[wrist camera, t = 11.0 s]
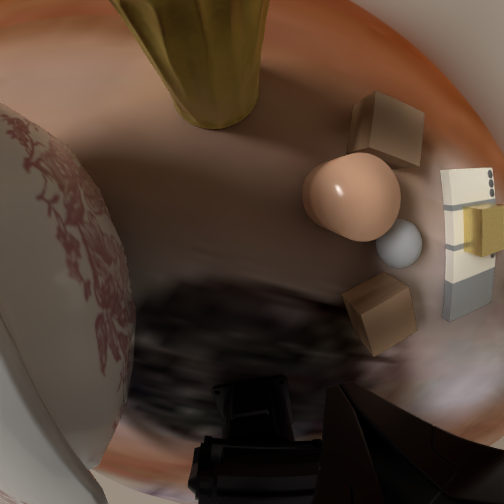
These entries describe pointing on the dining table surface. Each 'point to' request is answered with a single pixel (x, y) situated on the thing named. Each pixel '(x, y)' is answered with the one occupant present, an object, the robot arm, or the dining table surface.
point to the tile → (483, 228)
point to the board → (457, 260)
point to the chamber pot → (57, 321)
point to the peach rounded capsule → (353, 196)
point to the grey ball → (400, 244)
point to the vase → (202, 53)
